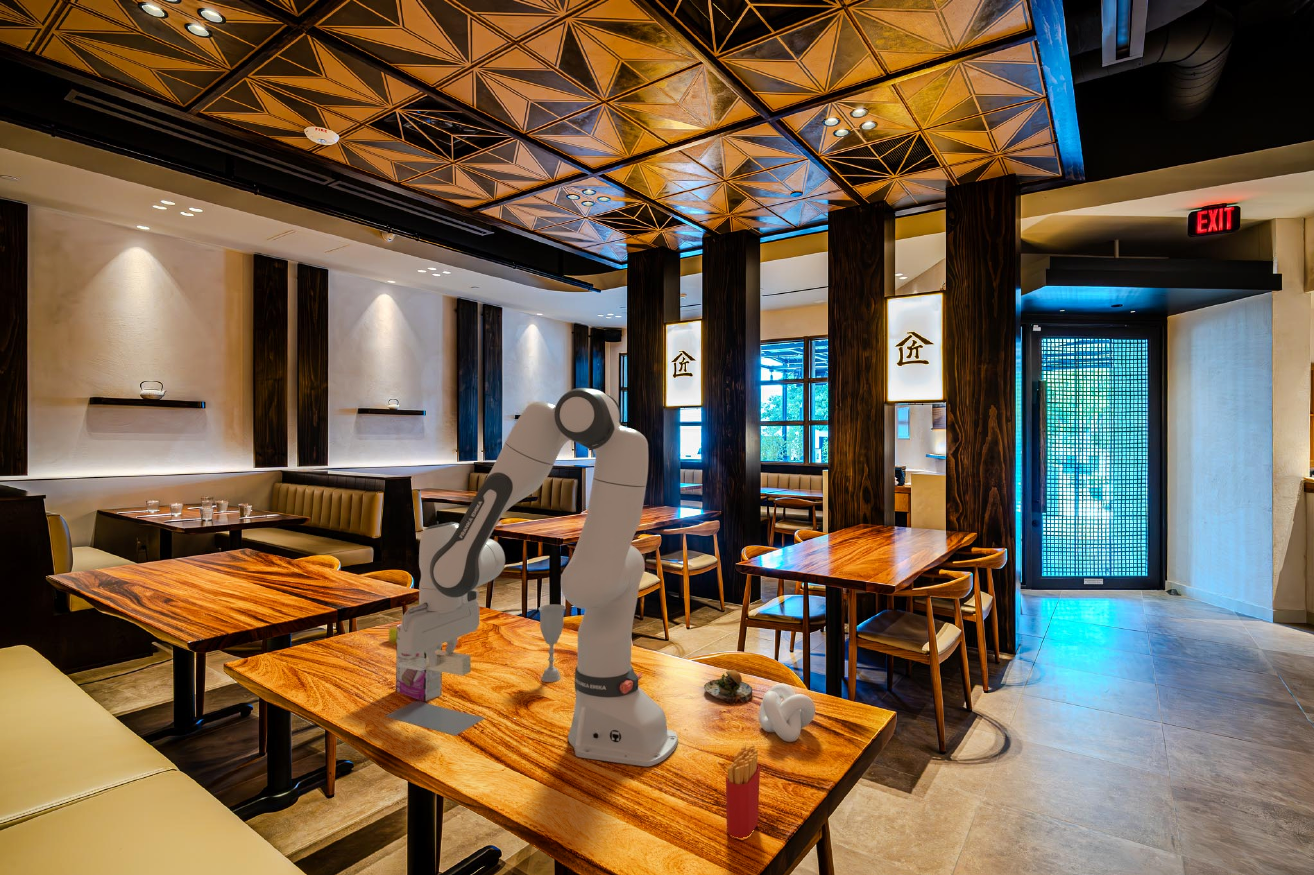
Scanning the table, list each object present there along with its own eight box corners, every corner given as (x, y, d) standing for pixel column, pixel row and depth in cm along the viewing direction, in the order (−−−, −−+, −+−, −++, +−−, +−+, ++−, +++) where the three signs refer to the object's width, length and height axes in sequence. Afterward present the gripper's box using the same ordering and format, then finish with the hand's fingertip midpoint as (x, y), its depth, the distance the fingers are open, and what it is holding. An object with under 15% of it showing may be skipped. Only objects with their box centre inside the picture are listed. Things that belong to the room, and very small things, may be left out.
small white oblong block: (474, 670, 133) (474, 653, 133) (458, 677, 128) (458, 660, 128) (415, 659, 140) (415, 643, 140) (398, 666, 135) (397, 650, 135)
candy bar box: (394, 695, 147) (395, 626, 147) (412, 688, 151) (413, 621, 152) (424, 706, 141) (425, 634, 141) (442, 699, 145) (443, 629, 146)
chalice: (558, 684, 155) (559, 612, 155) (532, 682, 156) (534, 610, 157) (568, 674, 162) (569, 605, 162) (543, 672, 164) (544, 603, 164)
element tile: (418, 651, 179) (419, 634, 180) (385, 642, 187) (386, 626, 187) (459, 637, 192) (459, 622, 192) (427, 630, 200) (427, 615, 200)
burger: (707, 683, 158) (707, 654, 158) (753, 688, 155) (754, 658, 156) (700, 702, 146) (701, 671, 146) (751, 707, 144) (751, 675, 144)
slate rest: (485, 722, 134) (485, 718, 134) (455, 740, 125) (455, 735, 125) (416, 705, 142) (416, 700, 142) (383, 720, 134) (384, 716, 134)
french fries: (740, 811, 102) (740, 738, 102) (763, 819, 100) (763, 744, 100) (719, 840, 95) (720, 761, 95) (744, 848, 93) (745, 767, 93)
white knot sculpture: (803, 753, 122) (804, 707, 122) (746, 738, 128) (746, 694, 128) (818, 730, 132) (819, 688, 132) (764, 718, 138) (765, 677, 138)
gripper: (414, 611, 123) (414, 681, 123) (484, 589, 141) (484, 650, 141) (391, 608, 125) (391, 677, 125) (462, 587, 144) (463, 647, 144)
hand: (441, 663), depth 133 cm, fingers closed on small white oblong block, 2 cm apart
